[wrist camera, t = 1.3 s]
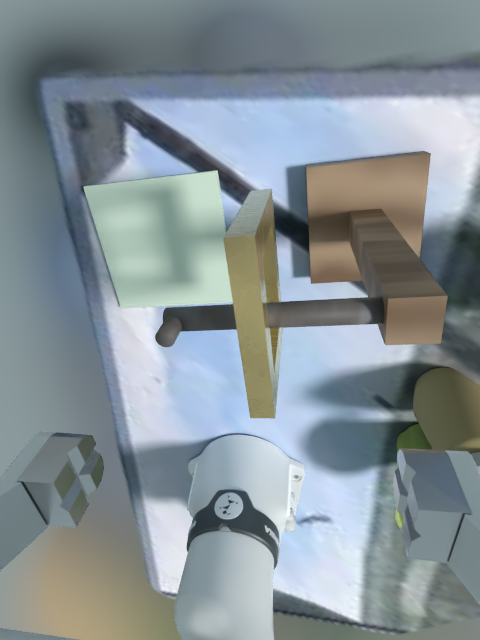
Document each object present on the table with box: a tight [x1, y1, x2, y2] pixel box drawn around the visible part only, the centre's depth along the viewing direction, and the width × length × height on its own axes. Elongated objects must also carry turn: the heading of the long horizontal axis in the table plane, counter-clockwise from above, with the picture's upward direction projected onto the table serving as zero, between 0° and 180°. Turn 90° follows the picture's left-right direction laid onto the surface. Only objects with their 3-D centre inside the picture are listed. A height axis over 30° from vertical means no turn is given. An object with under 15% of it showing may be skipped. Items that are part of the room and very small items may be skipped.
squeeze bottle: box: [413, 367, 480, 472], centre depth 40 cm, size 8×8×18 cm
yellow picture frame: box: [223, 189, 283, 418], centre depth 27 cm, size 12×2×12 cm, turn 7°
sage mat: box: [83, 170, 233, 308], centre depth 44 cm, size 15×15×1 cm
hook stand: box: [155, 151, 448, 347], centre depth 31 cm, size 12×20×22 cm, turn 97°
